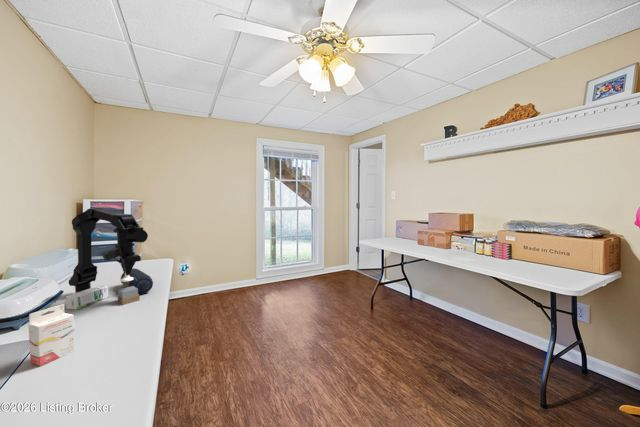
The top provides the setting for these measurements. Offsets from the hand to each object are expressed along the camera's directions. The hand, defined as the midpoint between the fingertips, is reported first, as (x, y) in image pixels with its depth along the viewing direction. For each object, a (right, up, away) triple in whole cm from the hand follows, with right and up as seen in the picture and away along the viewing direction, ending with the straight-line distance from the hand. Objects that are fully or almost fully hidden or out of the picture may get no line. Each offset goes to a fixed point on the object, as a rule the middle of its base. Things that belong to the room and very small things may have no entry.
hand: (126, 274), depth 120 cm
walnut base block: (0, -13, +1) cm, 13 cm away
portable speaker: (-6, -12, +15) cm, 21 cm away
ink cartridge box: (+9, -15, -42) cm, 46 cm away
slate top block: (0, -10, +1) cm, 10 cm away
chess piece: (0, -3, 0) cm, 3 cm away
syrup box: (-18, -10, -9) cm, 23 cm away
